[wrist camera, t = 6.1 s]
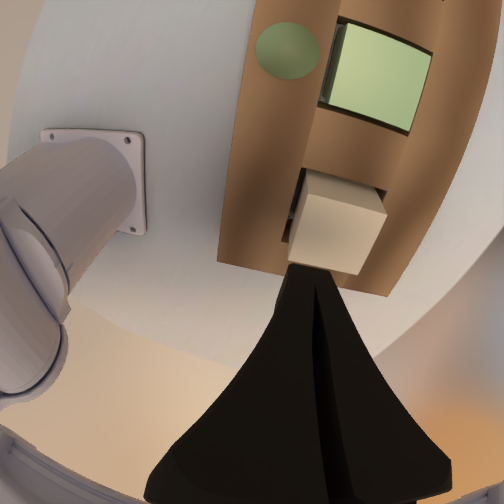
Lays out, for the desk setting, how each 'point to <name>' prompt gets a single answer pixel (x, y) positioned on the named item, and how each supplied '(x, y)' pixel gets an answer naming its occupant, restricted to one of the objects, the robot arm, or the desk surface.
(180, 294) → the desk surface
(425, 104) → the brown wooden slotted board
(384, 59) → the sage button
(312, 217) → the cream button
